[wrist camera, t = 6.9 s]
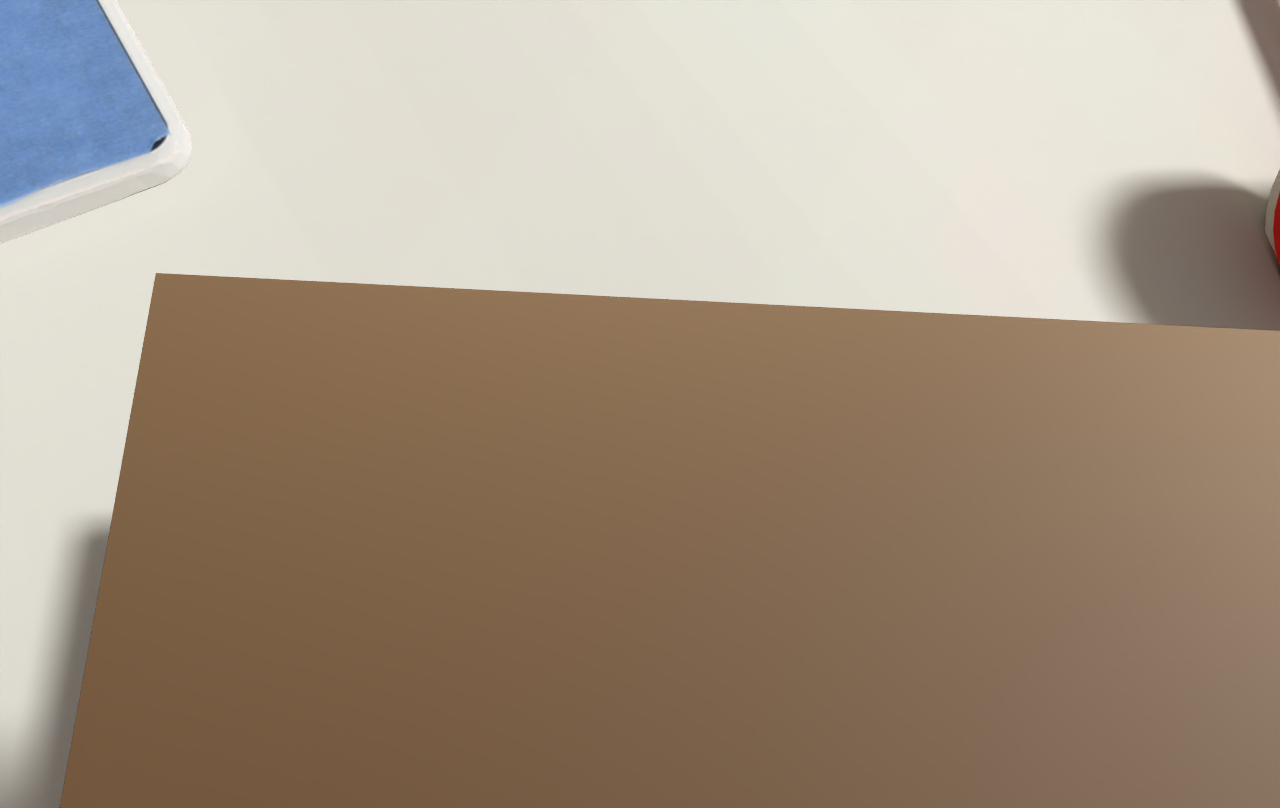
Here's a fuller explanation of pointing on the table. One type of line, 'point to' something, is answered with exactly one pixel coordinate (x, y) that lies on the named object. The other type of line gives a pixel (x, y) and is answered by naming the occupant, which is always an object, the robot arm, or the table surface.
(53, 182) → the tablet computer
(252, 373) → the walnut block
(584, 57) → the table surface
